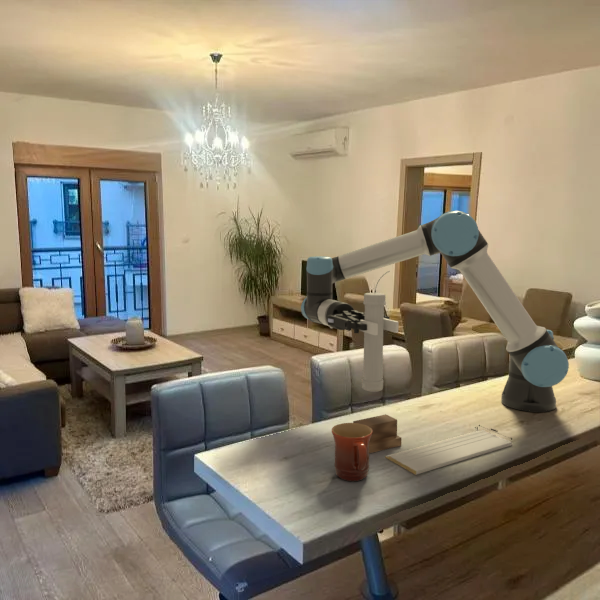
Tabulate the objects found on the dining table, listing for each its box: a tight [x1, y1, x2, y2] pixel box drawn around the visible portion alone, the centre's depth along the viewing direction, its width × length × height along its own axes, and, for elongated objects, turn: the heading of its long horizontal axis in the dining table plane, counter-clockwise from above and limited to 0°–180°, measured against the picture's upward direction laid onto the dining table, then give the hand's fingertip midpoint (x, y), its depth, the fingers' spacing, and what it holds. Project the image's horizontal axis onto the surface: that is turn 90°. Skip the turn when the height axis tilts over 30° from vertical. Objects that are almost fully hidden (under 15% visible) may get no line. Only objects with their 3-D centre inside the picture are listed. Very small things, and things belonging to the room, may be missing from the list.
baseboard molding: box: [384, 424, 513, 476], centre depth 130 cm, size 31×3×12 cm
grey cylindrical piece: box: [361, 270, 390, 393], centre depth 135 cm, size 6×6×30 cm
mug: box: [331, 422, 373, 482], centre depth 115 cm, size 12×9×10 cm
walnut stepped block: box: [352, 413, 402, 454], centre depth 133 cm, size 10×8×6 cm
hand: (386, 328), depth 130 cm, fingers closed on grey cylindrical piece, 5 cm apart
